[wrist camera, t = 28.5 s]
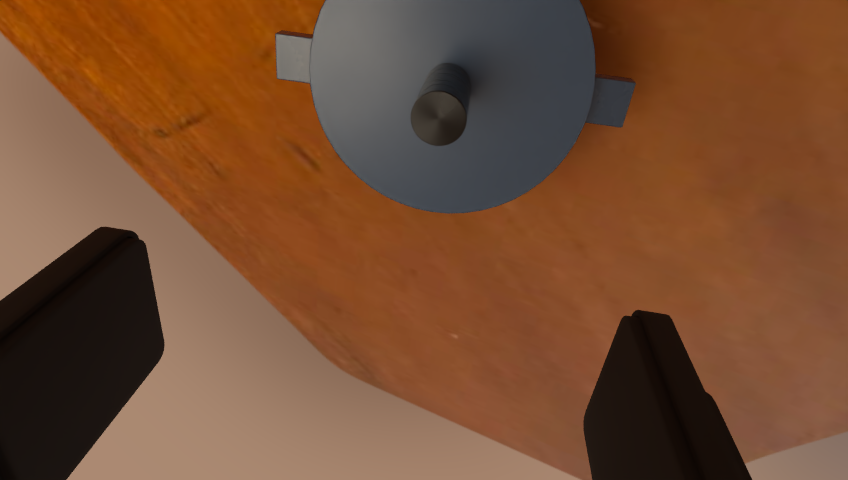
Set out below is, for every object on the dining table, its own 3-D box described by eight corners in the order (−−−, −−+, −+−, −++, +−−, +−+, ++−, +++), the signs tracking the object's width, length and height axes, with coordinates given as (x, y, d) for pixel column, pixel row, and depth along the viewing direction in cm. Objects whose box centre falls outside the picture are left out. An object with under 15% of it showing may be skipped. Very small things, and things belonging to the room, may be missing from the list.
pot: (307, -88, 30) (265, -92, 24) (643, -45, 29) (679, -40, 24) (308, 140, 37) (275, 176, 31) (579, 179, 36) (595, 224, 30)
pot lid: (315, -98, 25) (261, -108, 19) (630, -58, 24) (672, -56, 18) (314, 186, 32) (276, 240, 26) (554, 222, 31) (567, 285, 26)
